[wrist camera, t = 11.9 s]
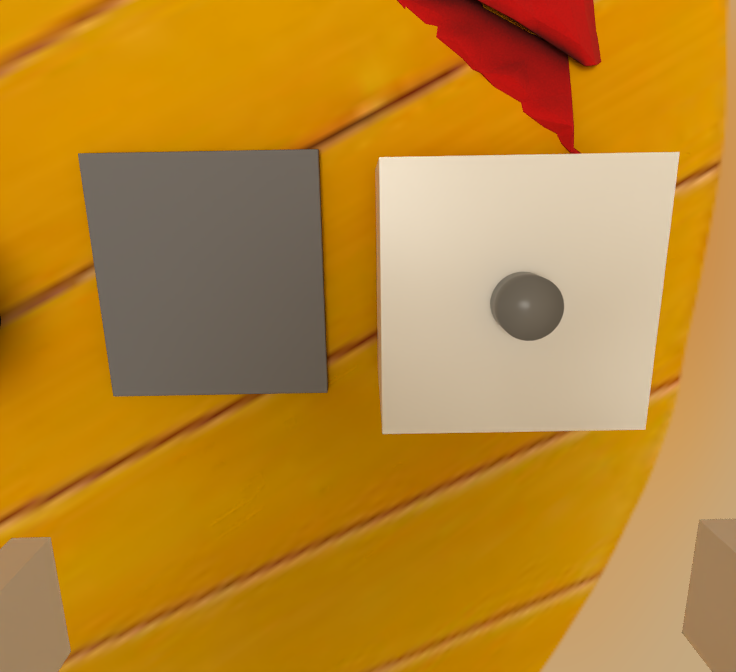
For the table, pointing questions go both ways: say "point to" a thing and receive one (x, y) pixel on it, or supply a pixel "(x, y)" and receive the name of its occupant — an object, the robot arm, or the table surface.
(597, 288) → the cover
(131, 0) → the table surface
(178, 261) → the mat
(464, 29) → the cloth
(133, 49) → the table surface
